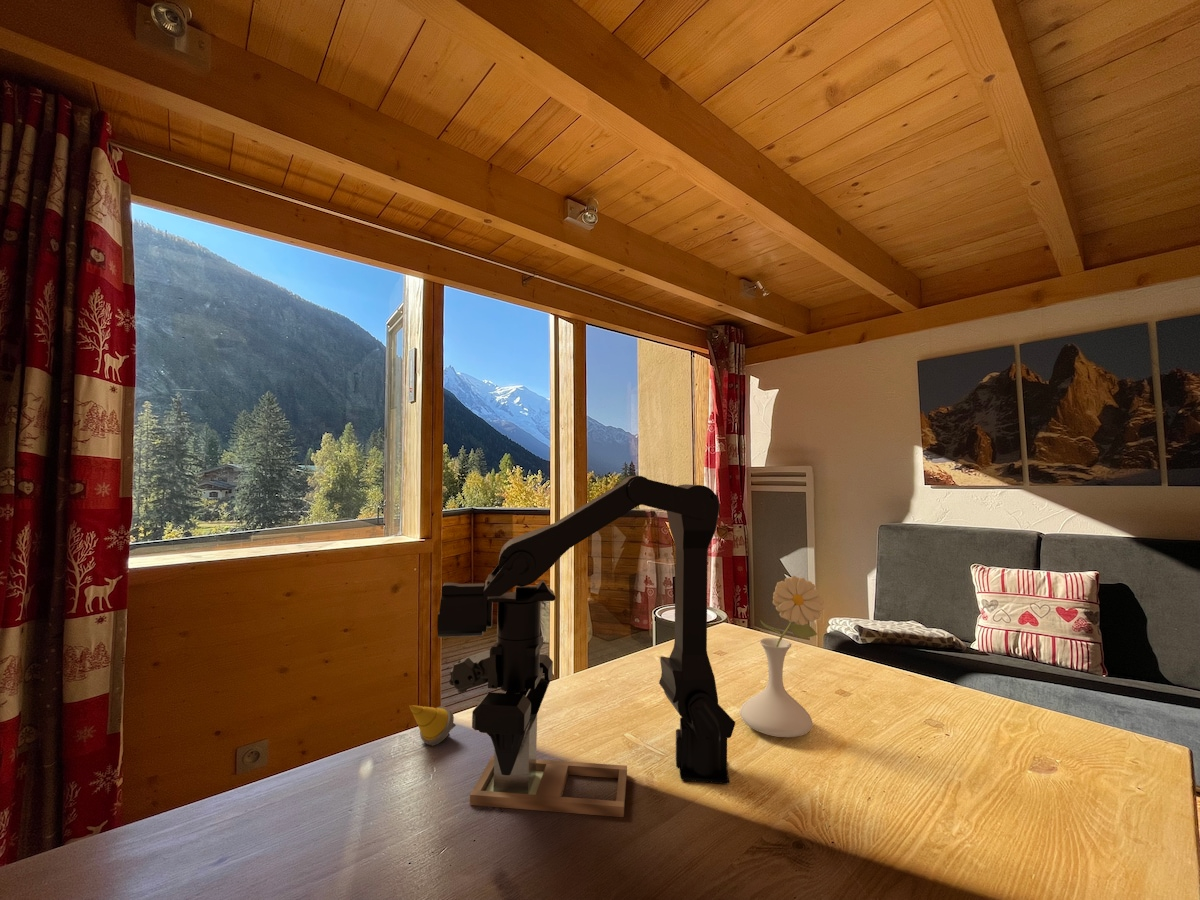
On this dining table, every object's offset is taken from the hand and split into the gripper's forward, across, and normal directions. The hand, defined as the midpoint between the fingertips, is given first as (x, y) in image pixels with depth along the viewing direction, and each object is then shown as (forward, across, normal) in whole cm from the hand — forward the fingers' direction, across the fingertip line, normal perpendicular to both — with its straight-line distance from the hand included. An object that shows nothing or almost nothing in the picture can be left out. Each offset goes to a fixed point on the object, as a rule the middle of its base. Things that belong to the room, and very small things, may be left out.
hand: (515, 754), depth 68 cm
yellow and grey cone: (+4, -9, -15) cm, 18 cm away
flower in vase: (+4, -21, +39) cm, 44 cm away
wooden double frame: (+4, 0, +5) cm, 6 cm away
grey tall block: (+4, 0, 0) cm, 4 cm away
